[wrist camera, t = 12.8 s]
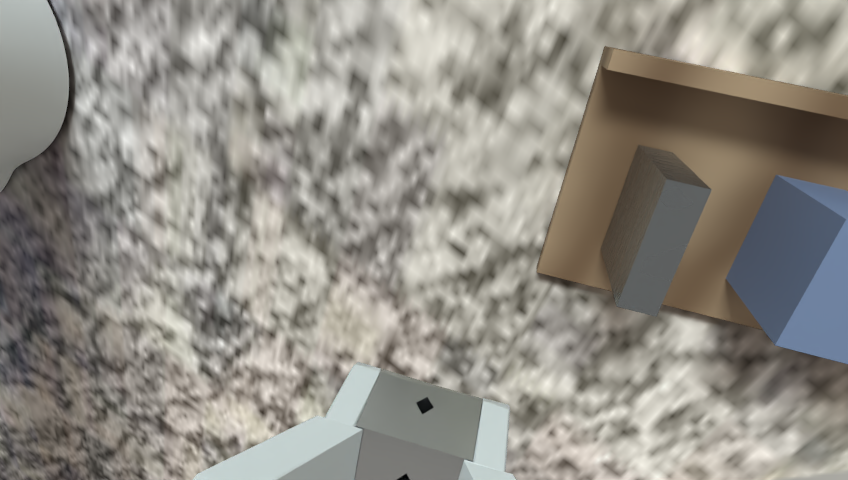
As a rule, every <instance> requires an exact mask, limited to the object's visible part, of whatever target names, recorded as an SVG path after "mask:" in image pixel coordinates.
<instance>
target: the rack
mask: <svg viewBox="0 0 848 480" xmlns="http://www.w3.org/2000/svg"><path fill="white" fill-rule="evenodd" d="M638 145H642V146H646V147H651V148H655V149H660V150H664V151H669V152H673V153H674V154H675V155H676V156H677V157H678V158H679V159H680V160H681V161H682V162H683V163H685V164H686V165H687V166H688V167H689V168H690V169H691V170H692V171H693V172H694V173H695V174H696V175H697V176H698V177H699V178H700V179H701V180H702V181H703V182H704V183H705V184H706V185H707V186H709V187H710V188H711V189H712V191H711V193H710V195H709V197H708V200H707V202H706V204H705V207H704V209H703V211H702V213H701V216H700V218H699V220H698V223H697V225H696V227H695V229H694V232H693V234H692V236H691V239H690V241H689V243H688V245H687V248H686V250H685V252H684V255H683V257H682V259H681V261H680V264H679V266H678V268H677V271H676V273H675V275H674V277H673V280H672V282H671V284H670V287H669V289H668V291H667V293H666V296H665V298H664V300H663V303H662V304H663V305H667V306H671V307H675V308H679V309H683V310H687V311H691V312H695V313H698V314H702V315H706V316H710V317H714V318H718V319H722V320H726V321H730V322H734V323H738V324H742V325H746V326H749V327H753V328H757V329H761V330H763V328H762V327H761V326H760V324H759V323H758V322H757V320H756V319H755V318H754V316H753V315H752V313H751V312H750V311H749V309H748V308H747V307H746V305H745V304H744V303H743V301H742V300H741V298H740V297H739V296H738V294H737V293H736V292H735V290H734V289H733V288H732V286H731V285H730V283H729V282H728V281H727V279H726V277H727V275H728V273H729V270H730V268H731V266H732V264H733V262H734V260H735V258H736V256H737V254H738V252H739V250H740V248H741V246H742V244H743V242H744V240H745V238H746V235H747V233H748V231H749V229H750V227H751V225H752V223H753V221H754V219H755V217H756V215H757V213H758V211H759V209H760V207H761V205H762V203H763V200H764V198H765V196H766V194H767V192H768V190H769V188H770V186H771V184H772V182H773V180H774V178H775V176H776V175H780V176H784V177H789V178H793V179H798V180H802V181H807V182H811V183H816V184H820V185H825V186H829V187H834V188H838V189H843V190H846V191H848V95H843V94H838V93H833V92H828V91H823V90H818V89H813V88H808V87H803V86H798V85H794V84H789V83H784V82H779V81H774V80H769V79H764V78H759V77H754V76H749V75H744V74H739V73H734V72H729V71H725V70H720V69H715V68H710V67H705V66H700V65H695V64H690V63H685V62H680V61H675V60H670V59H665V58H660V57H656V56H651V55H646V54H641V53H636V52H631V51H626V50H621V49H616V48H611V47H606V46H605V47H604V50H603V54H602V57H601V60H600V63H599V66H598V70H597V73H596V76H595V79H594V83H593V86H592V89H591V92H590V96H589V99H588V102H587V105H586V109H585V112H584V115H583V118H582V122H581V125H580V128H579V131H578V135H577V138H576V141H575V144H574V148H573V151H572V154H571V157H570V160H569V164H568V167H567V170H566V173H565V177H564V180H563V183H562V186H561V190H560V193H559V196H558V199H557V203H556V206H555V209H554V212H553V216H552V219H551V222H550V225H549V229H548V232H547V235H546V238H545V242H544V245H543V248H542V251H541V254H540V258H539V261H538V264H537V272H538V273H542V274H546V275H549V276H553V277H557V278H561V279H565V280H569V281H573V282H577V283H581V284H585V285H589V286H593V287H597V288H600V289H604V290H608V291H612V288H611V284H610V281H609V277H608V273H607V270H606V266H605V262H604V259H603V255H602V252H601V247H602V244H603V241H604V238H605V236H606V233H607V230H608V227H609V224H610V222H611V219H612V216H613V213H614V211H615V208H616V205H617V202H618V199H619V197H620V194H621V191H622V188H623V186H624V183H625V180H626V177H627V175H628V172H629V169H630V166H631V163H632V161H633V158H634V155H635V152H636V150H637V147H638ZM612 292H613V291H612Z"/></svg>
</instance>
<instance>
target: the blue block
mask: <svg viewBox="0 0 848 480" xmlns="http://www.w3.org/2000/svg"><path fill="white" fill-rule="evenodd" d="M726 279H727V281H728V282H729V283H730V285H731V286H732V288H733V289H734V290H735V292H736V293H737V294H738V296H739V297H740V298H741V300H742V301H743V303H744V304H745V305H746V307H747V308H748V309H749V311H750V312H751V313H752V315H753V316H754V318H755V319H756V320H757V322H758V323H759V324H760V326H761V327H762V328H763V330H764V331H765V332H766V334H767V335H768V337H769V338H770V339H771V341H772V342H773V343H774V345H776V346H779V347H783V348H787V349H791V350H795V351H799V352H803V353H807V354H811V355H814V356H818V357H822V358H826V359H830V360H834V361H838V362H842V363H845V364H848V191H846V190H843V189H838V188H834V187H829V186H825V185H820V184H816V183H811V182H807V181H802V180H798V179H793V178H789V177H784V176H780V175H776V176H775V178H774V180H773V182H772V184H771V186H770V188H769V190H768V192H767V194H766V196H765V198H764V200H763V203H762V205H761V207H760V209H759V211H758V213H757V215H756V217H755V219H754V221H753V223H752V225H751V227H750V229H749V231H748V233H747V235H746V238H745V240H744V242H743V244H742V246H741V248H740V250H739V252H738V254H737V256H736V258H735V260H734V262H733V264H732V266H731V268H730V270H729V273H728V275H727V277H726Z"/></svg>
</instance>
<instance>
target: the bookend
mask: <svg viewBox="0 0 848 480" xmlns="http://www.w3.org/2000/svg"><path fill="white" fill-rule="evenodd" d="M711 191H712V189H711V188H710V187H709V186H707V185H706V184H705V183H704V182H703V181H702V180H701V179H700V178H699V177H698V176H697V175H696V174H695V173H694V172H693V171H692V170H691V169H690V168H689V167H688V166H687V165H686V164H685V163H683V162H682V161H681V160H680V159H679V158H678V157H677V156H676V155H675V154H674V153H673V152H669V151H664V150H660V149H655V148H651V147H646V146H642V145H638V147H637V150H636V152H635V155H634V158H633V161H632V163H631V166H630V169H629V172H628V175H627V177H626V180H625V183H624V186H623V188H622V191H621V194H620V197H619V199H618V202H617V205H616V208H615V211H614V213H613V216H612V219H611V222H610V224H609V227H608V230H607V233H606V236H605V238H604V241H603V244H602V247H601V252H602V255H603V259H604V262H605V266H606V270H607V273H608V277H609V281H610V284H611V288H612V291H613V295H614V299H615V302H616V306H617V307H621V308H625V309H629V310H633V311H636V312H640V313H644V314H648V315H652V316H657V314H658V312H659V309H660V307H661V305H662V303H663V300H664V298H665V296H666V293H667V291H668V289H669V287H670V284H671V282H672V280H673V277H674V275H675V273H676V271H677V268H678V266H679V264H680V261H681V259H682V257H683V255H684V252H685V250H686V248H687V245H688V243H689V241H690V239H691V236H692V234H693V232H694V229H695V227H696V225H697V223H698V220H699V218H700V216H701V213H702V211H703V209H704V207H705V204H706V202H707V200H708V197H709V195H710V193H711Z"/></svg>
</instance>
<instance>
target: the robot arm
mask: <svg viewBox="0 0 848 480" xmlns="http://www.w3.org/2000/svg"><path fill="white" fill-rule="evenodd" d="M68 97H69V73H68V64H67V58H66V53H65V48H64V44H63V40H62V37H61V33H60V30H59V27H58V25H57V22H56V19H55V17H54V15H53V12H52V10H51V8H50V6H49V4H48V1H47V0H0V192H1V191H2V190H3V189H4V187H5V186H6V184H7V182H8V180H9V179H10V177H11V175H12V173H13V171H14V169H16V168H17V167H18V166H20V165H21V164H23V163H25V162H27V161H29V160H31V159H33V158H35V157H36V156H38V155H39V154H41V153H42V152H43V151H44V150H45V149H46V148H47V147H48V146H49V145H50V144H51V143H52V142H53V140H54V139H55V137H56V136H57V134H58V132H59V130H60V128H61V126H62V123H63V121H64V118H65V114H66V110H67V105H68ZM509 417H510V407H509V405H508V404H504V403H501V402H497V401H493V400H489V399H485V398H483V399H482V398H479V397H475V396H472V395H468V394H464V393H461V392H457V391H454V390H450V389H447V388H443V387H439V386H436V385H432V384H430V383H426V382H423V381H420V380H417V379H414V378H410V377H407V376H404V375H401V374H398V373H394V372H391V371H388V370H385V369H383V370H382V369H380V368H377V367H374V366H370V365H367V364H364V363H361V362H357V363H356V364H355V365H354V366H353V367H352V369H351V371H350V373H349V374H348V376H347V378H346V380H345V382H344V383H343V385H342V387H341V389H340V391H339V393H338V394H337V396H336V398H335V400H334V402H333V403H332V405H331V407H330V409H329V411H328V412H327V414H326V416H325V418H324V417H321V416H315V417H313V418H311V419H309V420H307V421H305V422H303V423H301V424H299V425H297V426H295V427H293V428H291V429H288V430H286V431H284V432H282V433H280V434H278V435H276V436H274V437H272V438H270V439H268V440H266V441H264V442H262V443H260V444H258V445H256V446H254V447H252V448H250V449H247V450H245V451H243V452H241V453H239V454H237V455H235V456H233V457H231V458H229V459H227V460H225V461H223V462H221V463H219V464H217V465H215V466H213V467H211V468H209V469H206V470H204V471H202V472H200V473H198V474H197V475H196V476H195V477H194V479H193V480H516V478H515V476H514V475H513V474H510V473H507V472H505V470H506V457H507V443H508V430H509Z"/></svg>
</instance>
